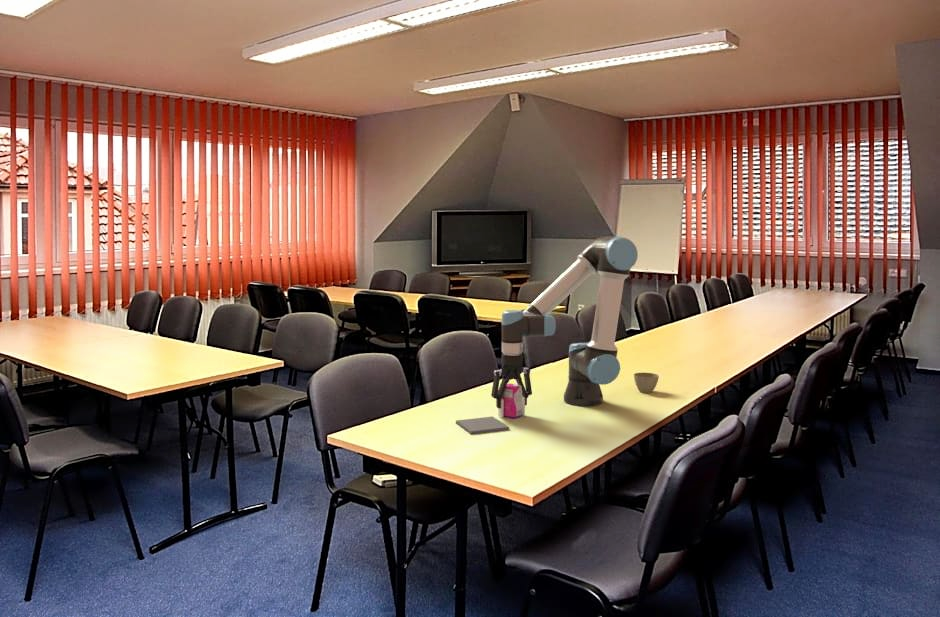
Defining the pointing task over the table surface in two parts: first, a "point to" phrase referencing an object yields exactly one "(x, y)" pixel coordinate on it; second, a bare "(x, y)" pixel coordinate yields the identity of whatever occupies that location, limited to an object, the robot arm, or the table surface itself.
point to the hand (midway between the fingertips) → (511, 415)
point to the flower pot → (646, 381)
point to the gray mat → (482, 425)
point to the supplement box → (512, 401)
